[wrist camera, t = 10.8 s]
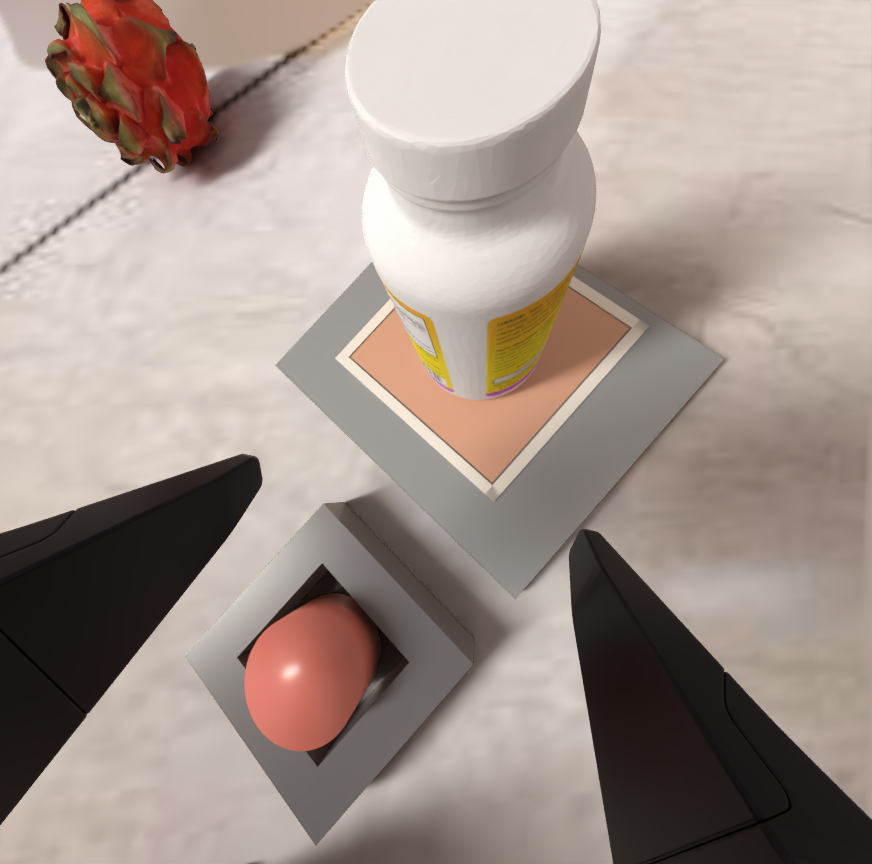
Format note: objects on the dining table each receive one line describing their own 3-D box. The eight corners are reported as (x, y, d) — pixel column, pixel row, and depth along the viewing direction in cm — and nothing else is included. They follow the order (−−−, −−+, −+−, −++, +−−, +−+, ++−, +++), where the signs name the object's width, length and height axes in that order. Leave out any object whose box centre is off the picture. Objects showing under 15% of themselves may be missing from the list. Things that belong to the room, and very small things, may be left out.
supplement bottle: (550, 301, 18) (697, -117, 6) (527, 414, 17) (644, 211, 5) (435, 286, 19) (348, -86, 7) (408, 391, 18) (250, 180, 6)
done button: (401, 648, 16) (382, 684, 13) (331, 727, 16) (296, 781, 13) (333, 572, 17) (302, 588, 14) (268, 645, 17) (222, 677, 14)
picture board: (713, 364, 17) (726, 357, 16) (513, 593, 17) (515, 599, 16) (448, 192, 21) (447, 179, 21) (283, 369, 21) (273, 364, 20)
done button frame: (474, 638, 17) (473, 664, 14) (341, 792, 16) (315, 845, 14) (344, 502, 19) (323, 503, 16) (224, 634, 18) (184, 655, 16)
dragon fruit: (187, 229, 26) (221, 133, 30) (214, 145, 21) (252, 40, 25) (24, 140, 21) (93, 36, 25) (0, -9, 15) (94, -115, 19)
